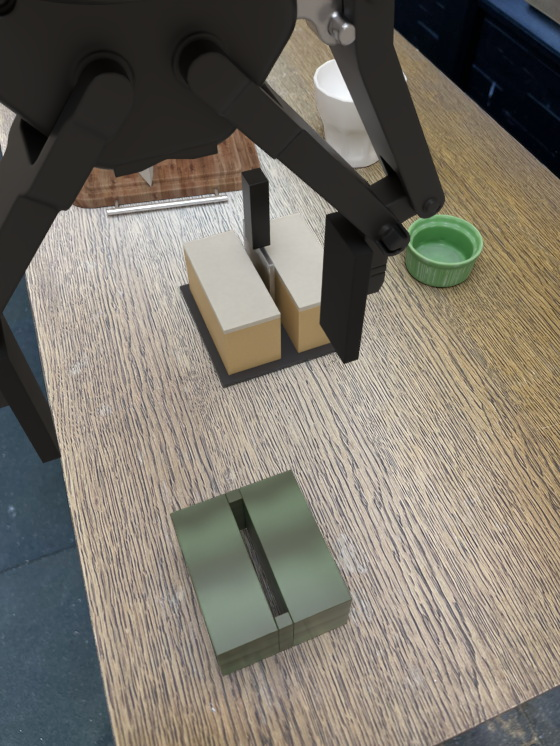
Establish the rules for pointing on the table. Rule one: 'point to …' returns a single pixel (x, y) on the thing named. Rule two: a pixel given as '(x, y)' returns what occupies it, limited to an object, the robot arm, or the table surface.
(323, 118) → the cup
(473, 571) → the table surface
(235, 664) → the knife block
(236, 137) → the chopping board
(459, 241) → the ramekin
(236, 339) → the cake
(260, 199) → the black-handled knife
